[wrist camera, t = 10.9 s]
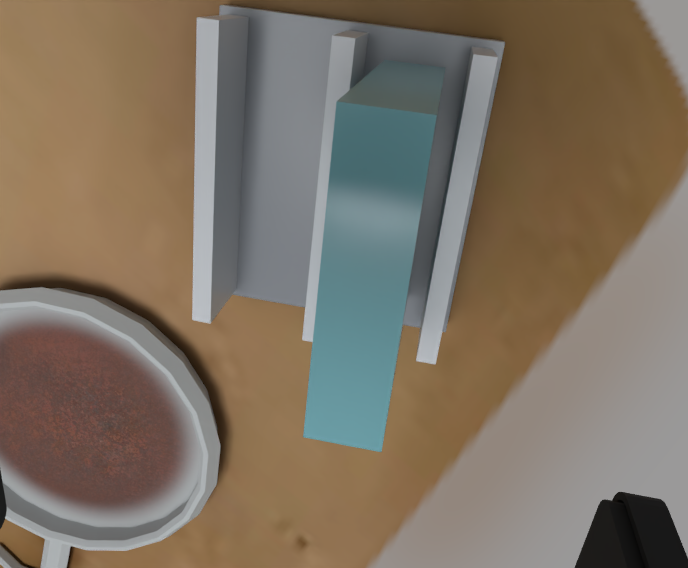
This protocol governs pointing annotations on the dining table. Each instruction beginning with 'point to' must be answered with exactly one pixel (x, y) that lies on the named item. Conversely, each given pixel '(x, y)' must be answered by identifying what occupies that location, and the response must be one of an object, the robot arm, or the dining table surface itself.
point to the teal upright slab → (369, 248)
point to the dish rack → (319, 155)
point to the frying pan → (98, 425)
